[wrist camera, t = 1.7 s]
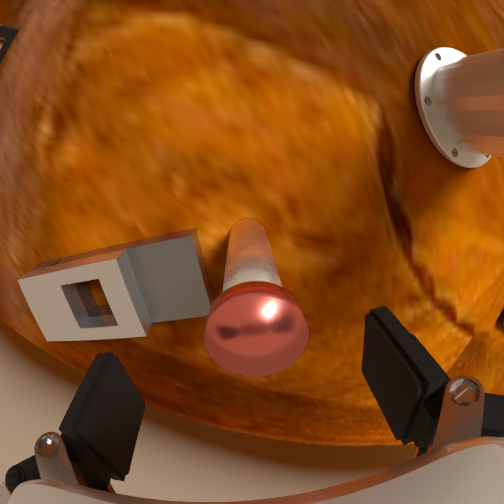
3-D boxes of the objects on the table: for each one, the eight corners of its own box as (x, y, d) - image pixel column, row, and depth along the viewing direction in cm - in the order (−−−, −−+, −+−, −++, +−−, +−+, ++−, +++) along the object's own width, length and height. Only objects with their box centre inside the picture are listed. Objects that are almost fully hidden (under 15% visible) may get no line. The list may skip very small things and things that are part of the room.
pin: (268, 208, 22) (304, 286, 9) (275, 255, 23) (311, 367, 11) (218, 217, 22) (191, 306, 10) (228, 263, 23) (218, 382, 11)
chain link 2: (195, 228, 22) (191, 235, 20) (214, 302, 25) (213, 315, 23) (64, 257, 22) (53, 265, 21) (89, 318, 25) (81, 329, 23)
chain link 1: (134, 241, 22) (116, 258, 19) (157, 310, 25) (146, 336, 21) (39, 263, 23) (17, 280, 19) (63, 320, 25) (47, 341, 21)
